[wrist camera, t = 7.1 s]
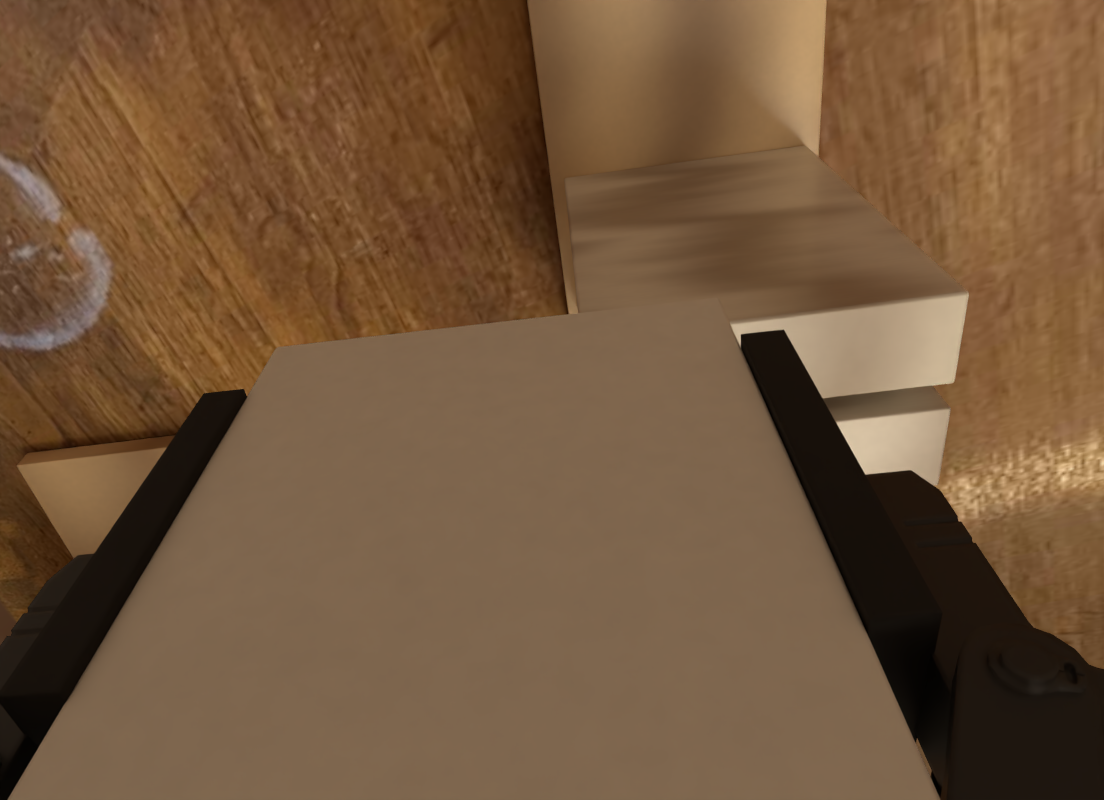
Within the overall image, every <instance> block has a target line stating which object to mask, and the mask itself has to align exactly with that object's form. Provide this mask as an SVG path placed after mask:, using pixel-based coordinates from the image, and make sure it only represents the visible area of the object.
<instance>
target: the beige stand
mask: <svg viewBox="0 0 1104 800" xmlns="http://www.w3.org/2000/svg"><path fill="white" fill-rule="evenodd" d="M826 1H827V0H527V5H528V13H529V20H530V28H531V35H532V43H533V50H534V58H535V65H536V73H537V80H538V88H539V96H540V103H541V111H542V118H543V126H544V133H545V141H546V148H547V156H548V163H549V171H550V178H551V186H552V193H553V201H554V209H555V216H556V224H557V231H558V239H559V246H560V254H561V261H562V269H563V276H564V284H565V291H566V299H567V307H568V314H576V313H584V312H593V311H602V310H611V309H620V308H629V307H637V306H646V305H655V304H664V303H673V302H682V301H691V300H699V299H708V298H719V300H720V302H721V304H722V307H723V309H724V311H725V313H726V316H727V318H728V320H729V322H730V325H731V327H732V329H733V331H734V334H735V336H736V338H737V340H738V343H739V345H740V347H741V334H747V333H756V332H765V331H774V330H783V329H784V330H785V332H786V334H787V336H788V338H789V339H790V341H791V343H792V345H793V346H794V348H795V350H796V352H797V354H798V355H799V357H800V359H801V361H802V363H803V364H804V366H805V368H806V370H807V371H808V373H809V375H810V377H811V379H812V380H813V382H814V384H815V386H816V387H817V389H818V391H819V393H820V395H821V396H822V398H823V400H824V402H825V404H826V405H827V407H828V409H829V411H830V412H831V414H832V416H833V418H834V420H835V421H836V423H837V425H838V427H839V429H840V430H841V432H842V434H843V436H844V437H845V439H846V441H847V443H848V445H849V446H850V448H851V450H852V452H853V454H854V455H855V457H856V459H857V461H858V462H859V464H860V466H861V468H862V470H863V471H864V473H865V475H866V474H876V473H886V472H896V471H906V470H912V471H913V472H915V473H916V474H918V475H919V476H920V477H922V478H923V479H925V480H926V481H927V482H929V483H930V484H932V485H938V482H939V476H940V470H941V464H942V458H943V452H944V446H945V440H946V434H947V428H948V422H949V416H950V410H951V409H950V407H949V405H948V404H947V403H946V402H945V401H944V399H943V398H942V397H941V396H940V395H939V393H938V392H937V391H936V390H935V388H934V387H933V386H932V385H940V384H949V383H953V382H954V381H955V375H956V369H957V363H958V357H959V351H960V345H961V339H962V333H963V327H964V321H965V314H966V308H967V302H968V296H969V294H968V291H967V290H966V289H965V288H963V287H962V286H961V285H960V284H959V283H958V282H957V281H956V280H955V279H953V278H952V277H951V276H950V275H949V274H948V273H947V272H946V271H945V270H943V269H942V268H941V267H940V266H939V265H938V264H937V263H936V262H935V261H933V260H932V259H931V258H930V257H929V256H928V255H927V254H926V253H925V252H923V251H922V250H921V249H920V248H919V247H918V246H917V245H916V244H915V243H913V242H912V241H911V240H910V239H909V238H908V237H907V236H906V235H905V234H903V233H902V232H901V231H900V230H899V229H898V228H897V227H896V226H895V225H893V224H892V223H891V222H890V221H889V220H888V219H887V218H886V217H885V216H883V215H882V214H881V213H880V212H879V211H878V210H877V209H876V208H875V207H873V206H872V205H871V204H870V203H869V202H868V201H867V200H866V199H865V198H863V197H862V196H861V195H860V194H859V193H858V192H857V191H856V190H855V189H853V188H852V187H851V186H850V185H849V184H848V183H847V182H846V181H845V180H843V179H842V178H841V177H840V176H839V175H838V174H837V173H836V172H835V171H833V170H832V169H831V168H830V167H829V166H828V165H827V164H826V163H825V162H823V161H822V160H821V159H820V158H819V143H820V123H821V102H822V82H823V62H824V42H825V21H826Z"/></svg>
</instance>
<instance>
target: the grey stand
mask: <svg viewBox="0 0 1104 800" xmlns="http://www.w3.org/2000/svg"><path fill="white" fill-rule="evenodd" d="M174 436H175V435H172V436H164V437H156V438H148V439H139V440H131V441H123V442H115V443H107V444H98V445H90V446H82V447H74V448H65V449H57V450H49V451H41V452H33V453H27V454H26V456H25V457H24V458H23V459H22V460H21V461H20V462H19V463H18V464H17V468H18V469H19V471H20V472H21V474H22V476H23V477H24V479H25V481H26V482H27V484H28V485H29V487H30V489H31V490H32V492H33V493H34V495H35V497H36V498H37V500H38V502H39V503H40V505H41V506H42V508H43V510H44V511H45V513H46V515H47V516H48V518H49V519H50V521H51V523H52V524H53V526H54V527H55V529H56V531H57V532H58V534H59V536H60V537H61V539H62V540H63V542H64V544H65V545H66V547H67V549H68V550H69V552H70V553H71V555H72V557H73V558H75V557H76V556H77V555H84V554H94V553H95V552H96V550H97V549H98V547H99V546H100V544H101V543H102V541H103V540H104V538H105V537H106V536H107V534H108V533H109V531H110V530H111V528H112V527H113V525H114V524H115V522H116V521H117V520H118V518H119V517H120V515H121V514H122V512H123V511H124V509H125V508H126V506H127V505H128V503H129V502H130V501H131V499H132V498H133V496H134V495H135V493H136V492H137V490H138V489H139V487H140V486H141V485H142V483H143V482H144V480H145V479H146V477H147V476H148V474H149V473H150V471H151V470H152V468H153V467H154V466H155V464H156V463H157V461H158V460H159V458H160V457H161V455H162V454H163V452H164V451H165V450H166V448H167V447H168V445H169V444H170V442H171V441H172V439H173V438H174Z"/></svg>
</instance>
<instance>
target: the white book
mask: <svg viewBox="0 0 1104 800" xmlns="http://www.w3.org/2000/svg"><path fill="white" fill-rule="evenodd" d="M8 800H940V797H939V795H938V793H937V790H936V788H935V786H934V784H933V781H932V779H931V777H930V775H929V772H928V770H927V768H926V766H925V763H924V761H923V759H922V757H921V754H920V752H919V750H918V748H917V745H916V743H915V741H914V738H913V736H912V734H911V732H910V729H909V727H908V725H907V723H906V720H905V718H904V716H903V714H902V711H901V709H900V707H899V705H898V702H897V700H896V698H895V696H894V693H893V691H892V689H891V686H890V684H889V682H888V680H887V677H886V675H885V673H884V671H883V668H882V666H881V664H880V662H879V659H878V657H877V655H876V653H875V650H874V648H873V646H872V644H871V641H870V639H869V637H868V634H867V632H866V630H865V628H864V625H863V623H862V621H861V619H860V616H859V614H858V612H857V610H856V607H855V605H854V603H853V601H852V598H851V596H850V594H849V591H848V589H847V587H846V585H845V582H844V580H843V578H842V576H841V573H840V571H839V569H838V567H837V564H836V562H835V560H834V558H833V555H832V553H831V551H830V549H829V546H828V544H827V542H826V539H825V537H824V535H823V533H822V530H821V528H820V526H819V524H818V521H817V519H816V517H815V515H814V512H813V510H812V508H811V506H810V503H809V501H808V499H807V497H806V494H805V492H804V490H803V487H802V485H801V483H800V481H799V478H798V476H797V474H796V472H795V469H794V467H793V465H792V463H791V460H790V458H789V456H788V454H787V451H786V449H785V447H784V445H783V442H782V440H781V438H780V435H779V433H778V431H777V429H776V426H775V424H774V422H773V420H772V417H771V415H770V413H769V411H768V408H767V406H766V404H765V402H764V399H763V397H762V395H761V393H760V390H759V388H758V386H757V383H756V381H755V379H754V377H753V374H752V372H751V370H750V368H749V365H748V363H747V361H746V359H745V356H744V354H743V352H742V350H741V347H740V345H739V343H738V340H737V338H736V336H735V334H734V331H733V329H732V327H731V325H730V322H729V320H728V318H727V316H726V313H725V311H724V309H723V307H722V304H721V302H720V300H719V298H708V299H699V300H691V301H682V302H673V303H664V304H655V305H646V306H637V307H629V308H620V309H611V310H602V311H593V312H584V313H576V314H567V315H558V316H549V317H540V318H531V319H523V320H514V321H505V322H496V323H487V324H478V325H469V326H461V327H452V328H443V329H434V330H425V331H416V332H408V333H399V334H390V335H381V336H372V337H363V338H354V339H346V340H337V341H328V342H319V343H310V344H301V345H293V346H284V347H278V348H276V349H275V351H274V352H273V354H272V356H271V357H270V359H269V361H268V362H267V364H266V366H265V367H264V369H263V371H262V372H261V374H260V376H259V378H258V379H257V381H256V383H255V384H254V386H253V388H252V389H251V391H250V393H249V394H248V396H247V398H246V400H245V402H244V403H243V405H242V407H241V408H240V410H239V412H238V413H237V415H236V417H235V418H234V420H233V422H232V424H231V425H230V427H229V429H228V430H227V432H226V434H225V435H224V437H223V439H222V440H221V442H220V444H219V445H218V447H217V449H216V451H215V452H214V454H213V456H212V457H211V459H210V461H209V462H208V464H207V466H206V467H205V469H204V471H203V472H202V474H201V476H200V477H199V479H198V481H197V483H196V484H195V486H194V488H193V489H192V491H191V493H190V494H189V496H188V498H187V499H186V501H185V503H184V504H183V506H182V508H181V509H180V511H179V513H178V515H177V516H176V518H175V520H174V521H173V523H172V525H171V526H170V528H169V530H168V531H167V533H166V535H165V536H164V538H163V540H162V541H161V543H160V545H159V547H158V548H157V550H156V552H155V553H154V555H153V557H152V558H151V560H150V562H149V563H148V565H147V567H146V568H145V570H144V572H143V573H142V575H141V577H140V579H139V580H138V582H137V584H136V585H135V587H134V589H133V590H132V592H131V594H130V595H129V597H128V599H127V600H126V602H125V604H124V606H123V607H122V609H121V611H120V612H119V614H118V616H117V617H116V619H115V621H114V622H113V624H112V626H111V627H110V629H109V631H108V632H107V634H106V636H105V638H104V639H103V641H102V643H101V644H100V646H99V648H98V649H97V651H96V653H95V654H94V656H93V658H92V659H91V661H90V663H89V664H88V666H87V668H86V670H85V671H84V673H83V675H82V676H81V678H80V680H79V681H78V683H77V685H76V686H75V688H74V690H73V691H72V693H71V695H70V696H69V698H68V700H67V702H65V704H64V705H63V707H62V709H61V711H60V712H59V714H58V716H57V717H56V719H55V721H54V722H53V724H52V726H51V727H50V729H49V731H48V732H47V734H46V736H45V737H44V739H43V741H42V742H41V744H40V746H39V748H38V749H37V751H36V753H35V754H34V756H33V758H32V759H31V761H30V763H29V764H28V766H27V768H26V769H25V771H24V773H23V774H22V776H21V778H20V779H19V781H18V783H17V785H16V786H15V788H14V790H13V791H12V793H11V795H10V796H9V798H8Z"/></svg>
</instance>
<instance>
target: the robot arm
mask: <svg viewBox="0 0 1104 800" xmlns="http://www.w3.org/2000/svg"><path fill="white" fill-rule="evenodd" d="M741 350H742V352H743V354H744V356H745V359H746V361H747V363H748V365H749V368H750V370H751V372H752V374H753V377H754V379H755V381H756V383H757V386H758V388H759V390H760V393H761V395H762V397H763V399H764V402H765V404H766V406H767V408H768V411H769V413H770V415H771V417H772V420H773V422H774V424H775V426H776V429H777V431H778V433H779V435H780V438H781V440H782V442H783V445H784V447H785V449H786V451H787V454H788V456H789V458H790V460H791V463H792V465H793V467H794V469H795V472H796V474H797V476H798V478H799V481H800V483H801V485H802V487H803V490H804V492H805V494H806V497H807V499H808V501H809V503H810V506H811V508H812V510H813V512H814V515H815V517H816V519H817V521H818V524H819V526H820V528H821V530H822V533H823V535H824V537H825V539H826V542H827V544H828V546H829V549H830V551H831V553H832V555H833V558H834V560H835V562H836V564H837V567H838V569H839V571H840V573H841V576H842V578H843V580H844V582H845V585H846V587H847V589H848V591H849V594H850V596H851V598H852V601H853V603H854V605H855V607H856V610H857V612H858V614H859V616H860V619H861V621H862V623H863V625H864V628H865V630H866V632H867V634H868V637H869V639H870V641H871V644H872V646H873V648H874V650H875V653H876V655H877V657H878V659H879V662H880V664H881V666H882V668H883V671H884V673H885V675H886V677H887V680H888V682H889V684H890V686H891V689H892V691H893V693H894V696H895V698H896V700H897V702H898V705H899V707H900V709H901V711H902V714H903V716H904V718H905V720H906V723H907V725H908V727H909V729H910V732H911V734H912V736H913V738H914V741H915V743H916V740H917V738H918V740H919V743H920V745H921V747H922V749H923V752H924V754H925V756H926V758H927V761H928V763H929V765H930V767H931V769H932V772H931V776H930V777H931V779H932V781H933V784H934V786H935V788H936V790H937V793H938V795H939V797H940V800H1104V669H1100V668H1096V667H1094V666H1091V665H1089V664H1088V663H1087V662H1086V661H1085V660H1084V659H1083V658H1082V656H1081V655H1080V654H1079V653H1078V652H1077V651H1076V650H1075V649H1074V648H1072V647H1071V646H1069V645H1068V644H1066V643H1065V642H1063V641H1062V640H1060V639H1059V638H1057V637H1055V636H1054V635H1052V634H1050V633H1047V632H1044V631H1041V630H1039V629H1036V628H1033V626H1032V625H1031V624H1030V623H1029V622H1028V620H1027V619H1026V617H1025V616H1024V614H1023V613H1022V611H1021V610H1020V608H1019V607H1018V605H1017V604H1016V602H1015V601H1014V600H1013V598H1012V597H1011V595H1010V594H1009V592H1008V591H1007V589H1006V588H1005V586H1004V585H1003V583H1002V582H1001V580H1000V579H999V577H998V576H997V574H996V573H995V571H994V570H993V568H992V567H991V565H990V564H989V562H988V561H987V559H986V558H985V556H984V555H983V553H982V552H981V550H980V549H979V547H978V546H977V544H976V543H973V542H972V537H971V536H970V534H969V533H968V531H967V530H966V528H965V527H964V525H963V524H962V522H959V521H958V516H957V515H956V513H955V512H954V510H953V509H952V507H951V506H950V504H949V503H948V501H947V500H946V498H945V497H944V495H943V494H942V492H941V491H940V490H939V489H937V488H936V487H934V486H933V485H932V484H930V483H929V482H927V481H926V480H925V479H923V478H922V477H920V476H919V475H918V474H916V473H915V472H913V471H912V470H906V471H896V472H886V473H876V474H866V475H865V473H864V471H863V470H862V468H861V466H860V464H859V462H858V461H857V459H856V457H855V455H854V454H853V452H852V450H851V448H850V446H849V445H848V443H847V441H846V439H845V437H844V436H843V434H842V432H841V430H840V429H839V427H838V425H837V423H836V421H835V420H834V418H833V416H832V414H831V412H830V411H829V409H828V407H827V405H826V404H825V402H824V400H823V398H822V396H821V395H820V393H819V391H818V389H817V387H816V386H815V384H814V382H813V380H812V379H811V377H810V375H809V373H808V371H807V370H806V368H805V366H804V364H803V363H802V361H801V359H800V357H799V355H798V354H797V352H796V350H795V348H794V346H793V345H792V343H791V341H790V339H789V338H788V336H787V334H786V332H785V330H784V329H783V330H774V331H765V332H756V333H747V334H741ZM246 398H247V396H246V393H245V390H244V389H240V390H230V391H221V392H212V393H204V394H203V396H202V397H201V398H200V400H199V401H198V403H197V404H196V406H195V407H194V409H193V410H192V412H191V413H190V415H189V416H188V417H187V419H186V420H185V422H184V423H183V425H182V426H181V428H180V429H179V431H178V432H177V433H176V435H175V436H174V438H173V439H172V441H171V442H170V444H169V445H168V447H167V448H166V450H165V451H164V452H163V454H162V455H161V457H160V458H159V460H158V461H157V463H156V464H155V466H154V467H153V468H152V470H151V471H150V473H149V474H148V476H147V477H146V479H145V480H144V482H143V483H142V485H141V486H140V487H139V489H138V490H137V492H136V493H135V495H134V496H133V498H132V499H131V501H130V502H129V503H128V505H127V506H126V508H125V509H124V511H123V512H122V514H121V515H120V517H119V518H118V520H117V521H116V522H115V524H114V525H113V527H112V528H111V530H110V531H109V533H108V534H107V536H106V537H105V538H104V540H103V541H102V543H101V544H100V546H99V547H98V549H97V550H96V552H95V553H94V554H84V555H77V556H76V557H75V558H74V559H73V560H71V561H70V562H69V563H68V564H67V565H65V566H64V567H63V568H62V569H61V570H59V571H58V572H57V573H56V574H55V575H53V576H52V577H51V578H50V579H49V580H48V581H47V582H46V583H45V585H44V586H43V587H42V589H41V590H40V592H39V593H38V594H37V596H36V597H35V598H34V600H33V601H32V603H31V604H30V605H29V607H28V613H24V614H23V615H22V616H21V618H20V619H19V620H18V622H17V623H16V625H15V626H14V627H13V629H12V630H11V631H12V634H11V636H7V637H6V638H5V640H4V641H3V642H2V644H1V645H0V800H8V798H9V796H10V795H11V793H12V791H13V790H14V788H15V786H16V785H17V783H18V781H19V779H20V778H21V776H22V774H23V773H24V771H25V769H26V768H27V766H28V764H29V763H30V761H31V759H32V758H33V756H34V754H35V753H36V751H37V749H38V748H39V746H40V744H41V742H42V741H43V739H44V737H45V736H46V734H47V732H48V731H49V729H50V727H51V726H52V724H53V722H54V721H55V719H56V717H57V716H58V714H59V712H60V711H61V709H62V707H63V705H64V704H65V702H67V700H68V698H69V696H70V695H71V693H72V691H73V690H74V688H75V686H76V685H77V683H78V681H79V680H80V678H81V676H82V675H83V673H84V671H85V670H86V668H87V666H88V664H89V663H90V661H91V659H92V658H93V656H94V654H95V653H96V651H97V649H98V648H99V646H100V644H101V643H102V641H103V639H104V638H105V636H106V634H107V632H108V631H109V629H110V627H111V626H112V624H113V622H114V621H115V619H116V617H117V616H118V614H119V612H120V611H121V609H122V607H123V606H124V604H125V602H126V600H127V599H128V597H129V595H130V594H131V592H132V590H133V589H134V587H135V585H136V584H137V582H138V580H139V579H140V577H141V575H142V573H143V572H144V570H145V568H146V567H147V565H148V563H149V562H150V560H151V558H152V557H153V555H154V553H155V552H156V550H157V548H158V547H159V545H160V543H161V541H162V540H163V538H164V536H165V535H166V533H167V531H168V530H169V528H170V526H171V525H172V523H173V521H174V520H175V518H176V516H177V515H178V513H179V511H180V509H181V508H182V506H183V504H184V503H185V501H186V499H187V498H188V496H189V494H190V493H191V491H192V489H193V488H194V486H195V484H196V483H197V481H198V479H199V477H200V476H201V474H202V472H203V471H204V469H205V467H206V466H207V464H208V462H209V461H210V459H211V457H212V456H213V454H214V452H215V451H216V449H217V447H218V445H219V444H220V442H221V440H222V439H223V437H224V435H225V434H226V432H227V430H228V429H229V427H230V425H231V424H232V422H233V420H234V418H235V417H236V415H237V413H238V412H239V410H240V408H241V407H242V405H243V403H244V402H245V400H246Z"/></svg>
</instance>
